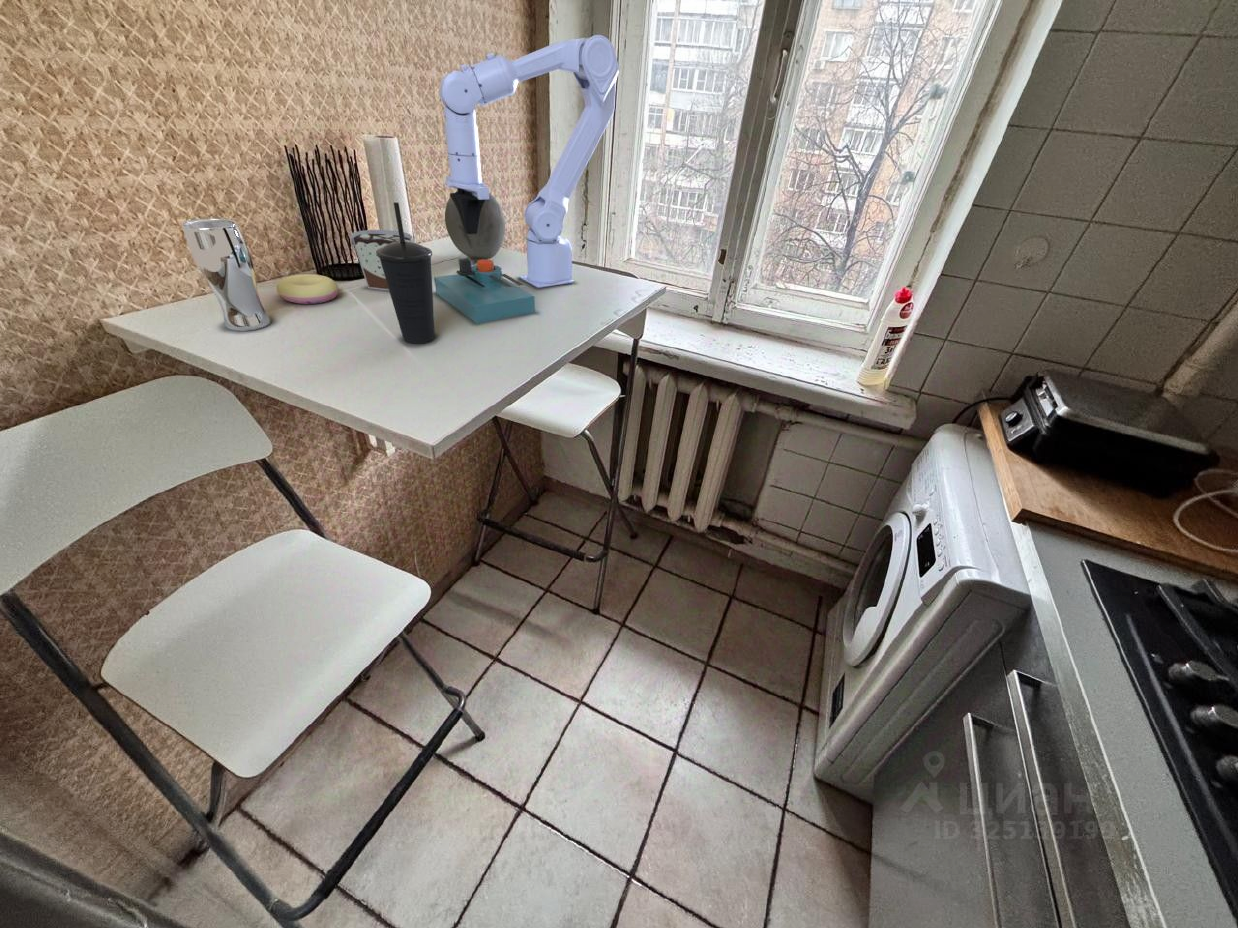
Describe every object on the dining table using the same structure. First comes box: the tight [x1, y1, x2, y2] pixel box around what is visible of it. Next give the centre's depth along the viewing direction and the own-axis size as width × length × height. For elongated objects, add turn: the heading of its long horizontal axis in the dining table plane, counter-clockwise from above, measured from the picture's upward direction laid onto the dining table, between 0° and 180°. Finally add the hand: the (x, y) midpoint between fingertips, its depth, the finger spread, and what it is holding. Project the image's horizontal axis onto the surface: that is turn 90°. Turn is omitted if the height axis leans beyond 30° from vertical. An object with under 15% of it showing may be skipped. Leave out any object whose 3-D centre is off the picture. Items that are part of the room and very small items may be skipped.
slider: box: [456, 257, 475, 276], centre depth 91 cm, size 3×2×3 cm
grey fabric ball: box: [444, 191, 506, 261], centre depth 115 cm, size 14×14×15 cm
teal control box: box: [433, 264, 536, 324], centre depth 94 cm, size 12×18×5 cm
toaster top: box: [454, 273, 524, 287], centre depth 91 cm, size 9×10×1 cm
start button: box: [476, 259, 495, 272], centre depth 96 cm, size 3×3×2 cm
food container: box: [349, 229, 416, 291], centre depth 96 cm, size 12×6×10 cm, turn 85°
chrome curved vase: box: [180, 218, 271, 332], centre depth 74 cm, size 7×7×15 cm
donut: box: [275, 273, 339, 305], centre depth 89 cm, size 10×5×9 cm
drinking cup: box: [376, 202, 436, 346], centre depth 74 cm, size 8×8×20 cm
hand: (471, 233), depth 99 cm, fingers closed
